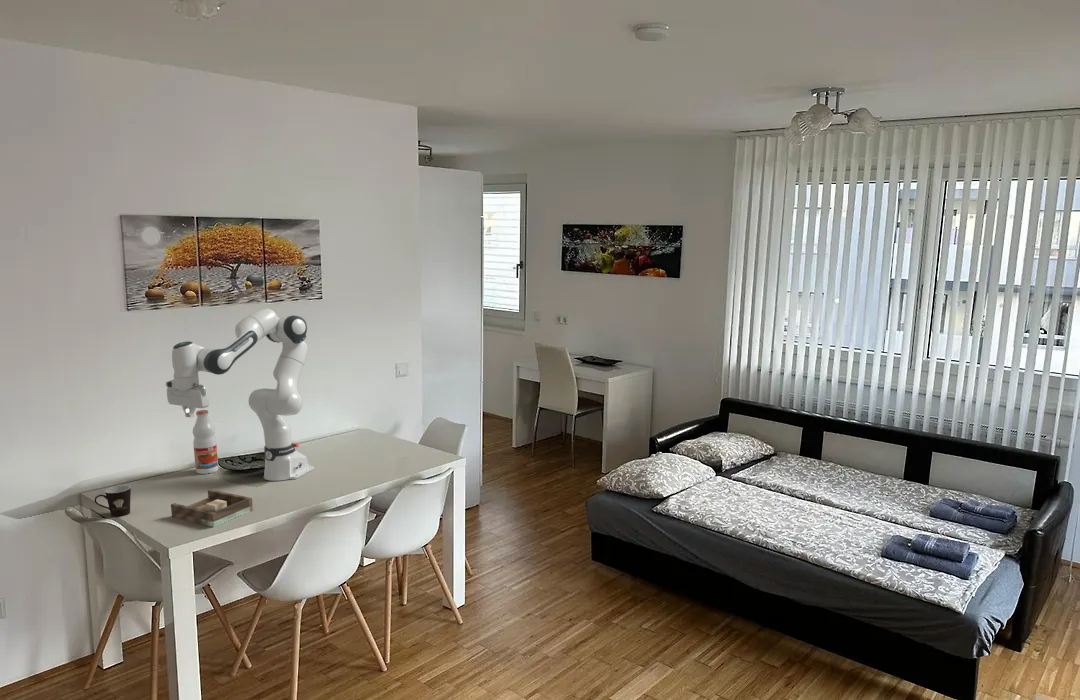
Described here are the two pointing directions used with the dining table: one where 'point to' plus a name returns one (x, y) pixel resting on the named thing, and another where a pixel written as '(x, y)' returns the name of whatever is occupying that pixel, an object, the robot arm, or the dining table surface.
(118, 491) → the coffee mug
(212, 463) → the fruit juice
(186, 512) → the box
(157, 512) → the dining table surface
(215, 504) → the birch block
